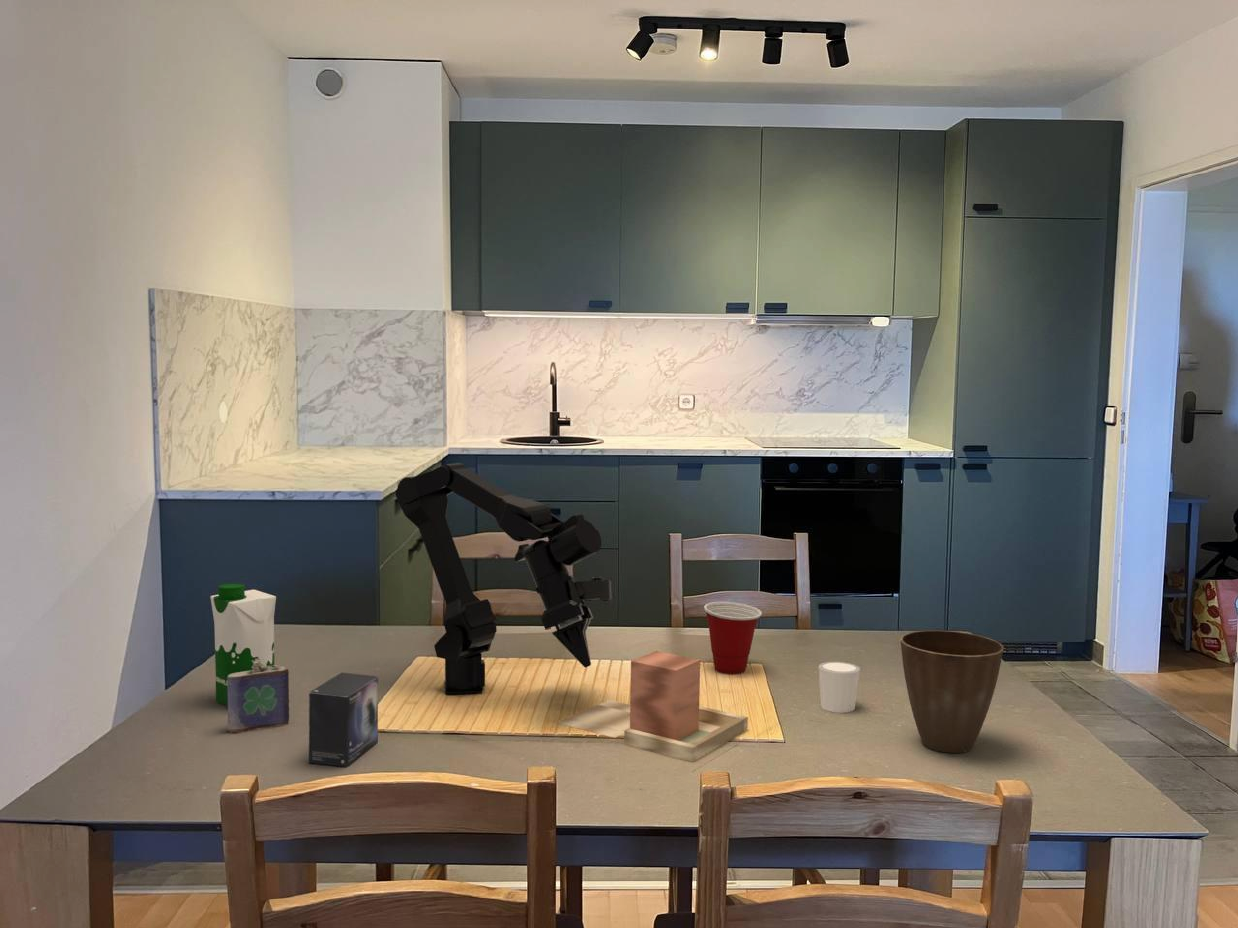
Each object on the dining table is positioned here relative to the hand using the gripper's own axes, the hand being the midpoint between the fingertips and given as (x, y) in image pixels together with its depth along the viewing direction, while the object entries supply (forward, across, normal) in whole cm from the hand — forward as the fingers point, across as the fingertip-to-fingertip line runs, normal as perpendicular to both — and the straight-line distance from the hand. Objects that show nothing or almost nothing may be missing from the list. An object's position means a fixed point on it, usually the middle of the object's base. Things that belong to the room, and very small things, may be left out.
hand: (588, 666), depth 170 cm
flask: (-11, -6, +51) cm, 52 cm away
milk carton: (-17, +5, +56) cm, 58 cm away
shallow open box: (+13, -3, -5) cm, 14 cm away
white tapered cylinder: (+22, +14, -35) cm, 44 cm away
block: (+14, -5, -8) cm, 16 cm away
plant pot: (+32, -1, -46) cm, 57 cm away
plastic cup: (+10, +32, -21) cm, 40 cm away
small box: (-2, -15, +36) cm, 39 cm away
